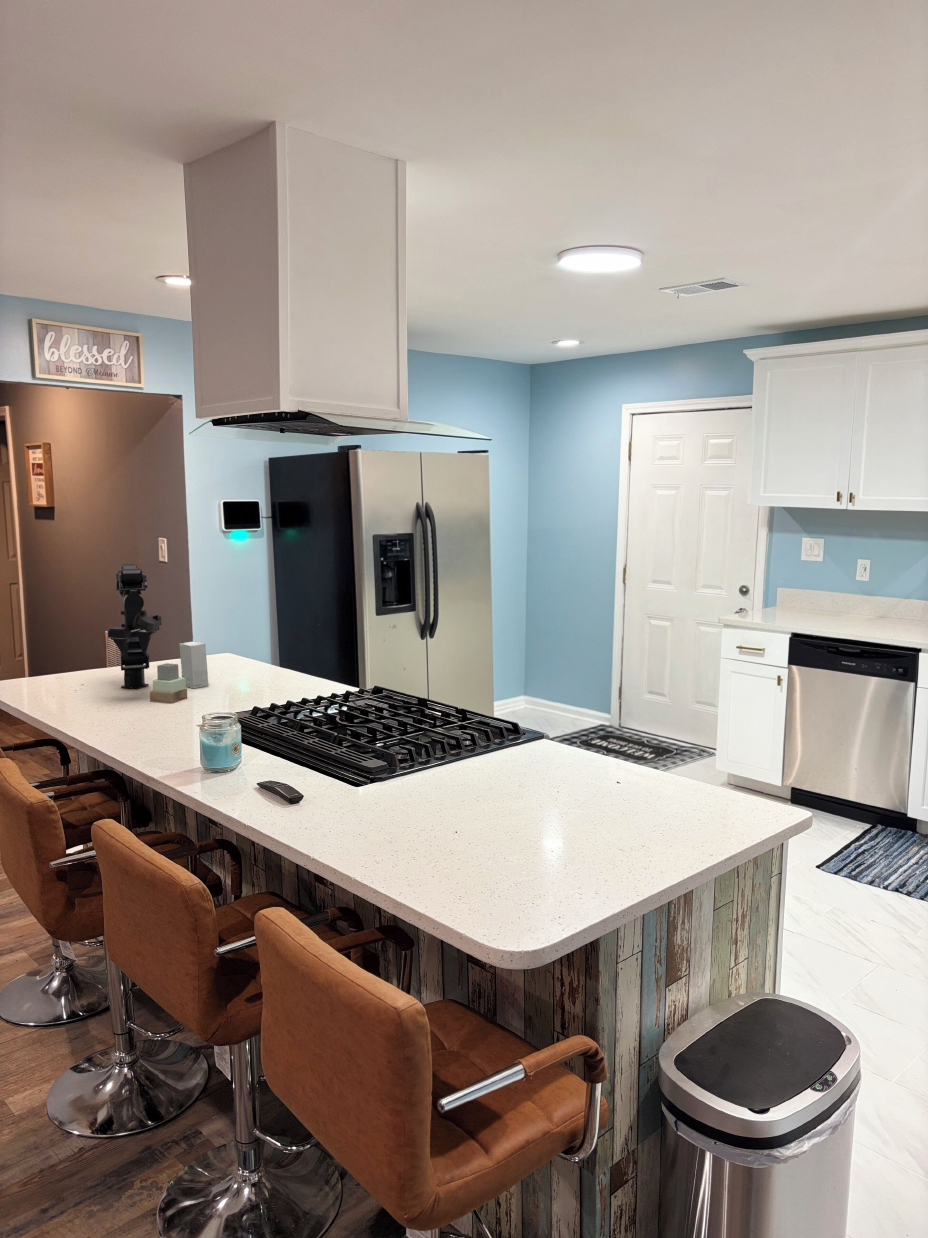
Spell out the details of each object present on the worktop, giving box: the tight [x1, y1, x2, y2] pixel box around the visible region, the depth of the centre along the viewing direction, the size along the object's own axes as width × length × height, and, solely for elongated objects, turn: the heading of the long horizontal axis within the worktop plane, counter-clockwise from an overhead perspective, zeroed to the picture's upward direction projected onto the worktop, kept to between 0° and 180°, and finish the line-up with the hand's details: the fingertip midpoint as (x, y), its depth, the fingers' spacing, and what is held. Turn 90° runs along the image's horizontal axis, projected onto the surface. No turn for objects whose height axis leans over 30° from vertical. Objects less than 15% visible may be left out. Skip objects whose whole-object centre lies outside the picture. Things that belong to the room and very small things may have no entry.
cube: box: [156, 662, 179, 681], centre depth 284 cm, size 4×4×4 cm
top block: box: [152, 677, 187, 693], centre depth 284 cm, size 7×7×4 cm
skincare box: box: [179, 641, 210, 689], centre depth 304 cm, size 8×6×15 cm
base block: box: [149, 688, 188, 704], centre depth 285 cm, size 8×8×4 cm
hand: (135, 655), depth 290 cm, fingers open, 9 cm apart
